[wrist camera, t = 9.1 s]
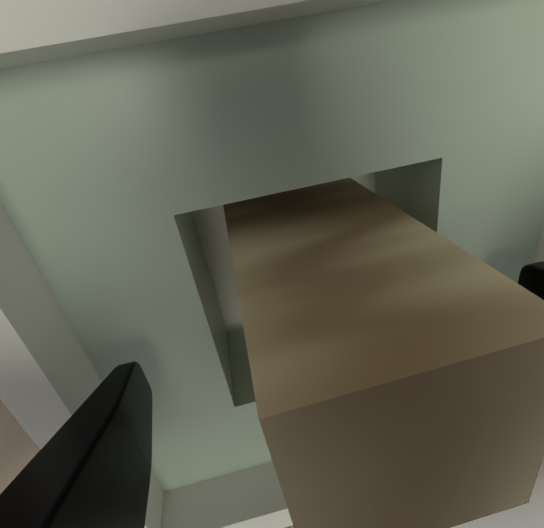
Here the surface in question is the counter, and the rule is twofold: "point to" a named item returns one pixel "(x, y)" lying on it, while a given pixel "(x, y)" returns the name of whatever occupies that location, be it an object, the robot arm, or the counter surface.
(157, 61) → the open box
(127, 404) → the robot arm
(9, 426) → the counter surface
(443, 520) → the maple peg
